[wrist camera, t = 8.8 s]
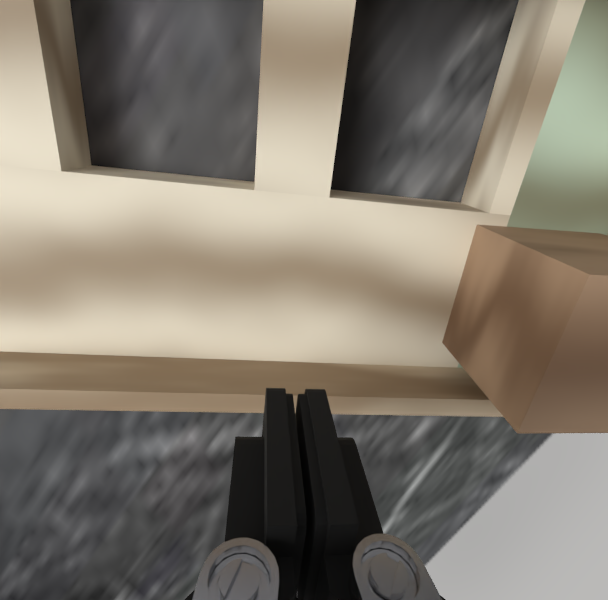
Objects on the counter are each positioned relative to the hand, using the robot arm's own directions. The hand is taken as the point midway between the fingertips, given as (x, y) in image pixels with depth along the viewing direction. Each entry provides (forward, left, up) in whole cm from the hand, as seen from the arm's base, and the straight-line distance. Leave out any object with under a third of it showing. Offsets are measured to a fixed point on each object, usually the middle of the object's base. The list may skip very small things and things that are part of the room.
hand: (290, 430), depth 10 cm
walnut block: (+2, -11, -7) cm, 13 cm away
